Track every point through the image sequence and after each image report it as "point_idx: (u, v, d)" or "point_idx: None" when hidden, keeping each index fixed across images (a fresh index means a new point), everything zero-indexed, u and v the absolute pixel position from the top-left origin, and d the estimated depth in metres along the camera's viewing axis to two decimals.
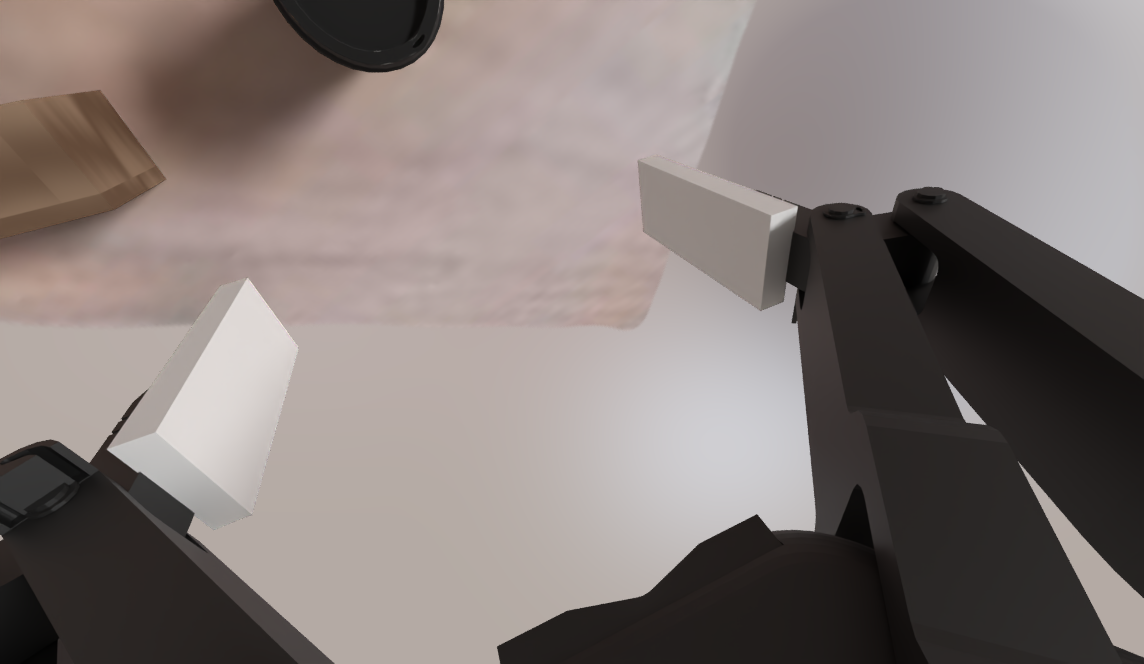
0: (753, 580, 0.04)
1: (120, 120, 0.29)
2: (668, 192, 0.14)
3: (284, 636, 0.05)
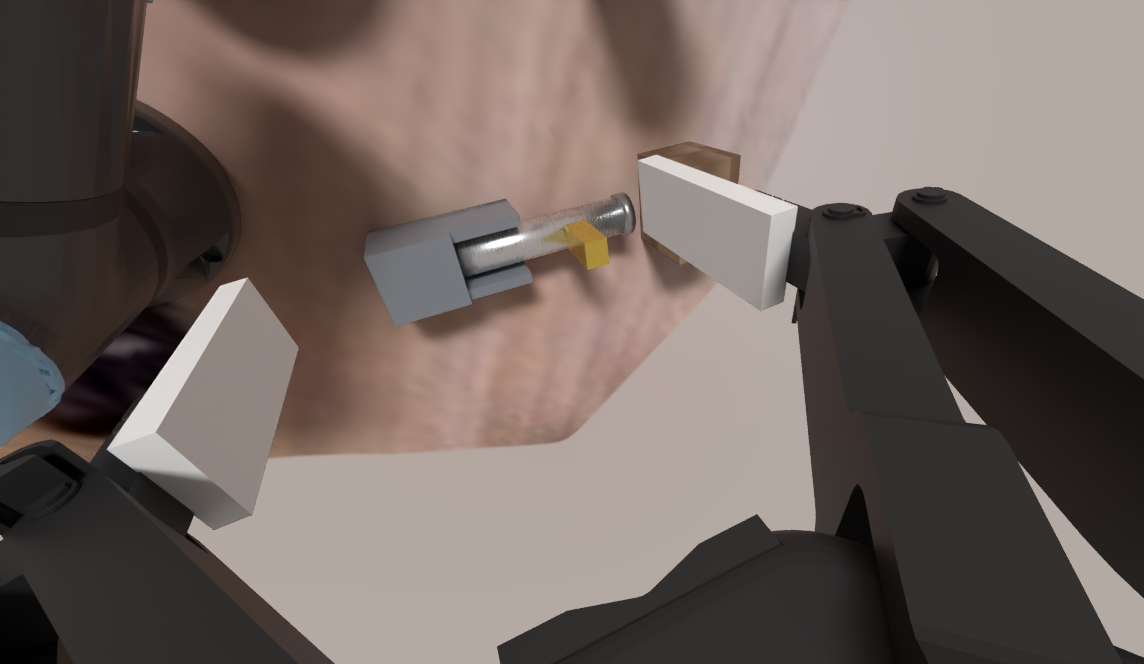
0: (753, 580, 0.04)
1: (655, 150, 0.43)
2: (668, 192, 0.14)
3: (284, 636, 0.05)
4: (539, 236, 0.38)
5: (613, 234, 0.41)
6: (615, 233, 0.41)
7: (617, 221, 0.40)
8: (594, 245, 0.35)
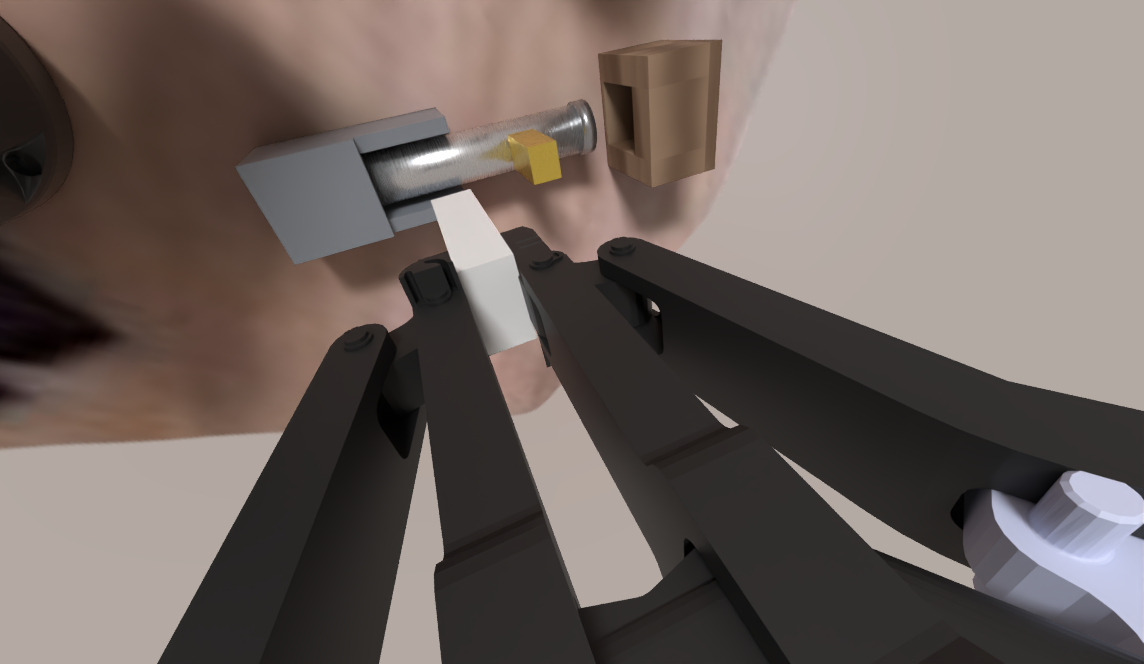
0: None
1: (619, 49, 0.35)
2: None
3: (529, 470, 0.07)
4: (476, 149, 0.31)
5: (570, 151, 0.34)
6: (573, 150, 0.34)
7: (574, 133, 0.33)
8: (540, 150, 0.28)
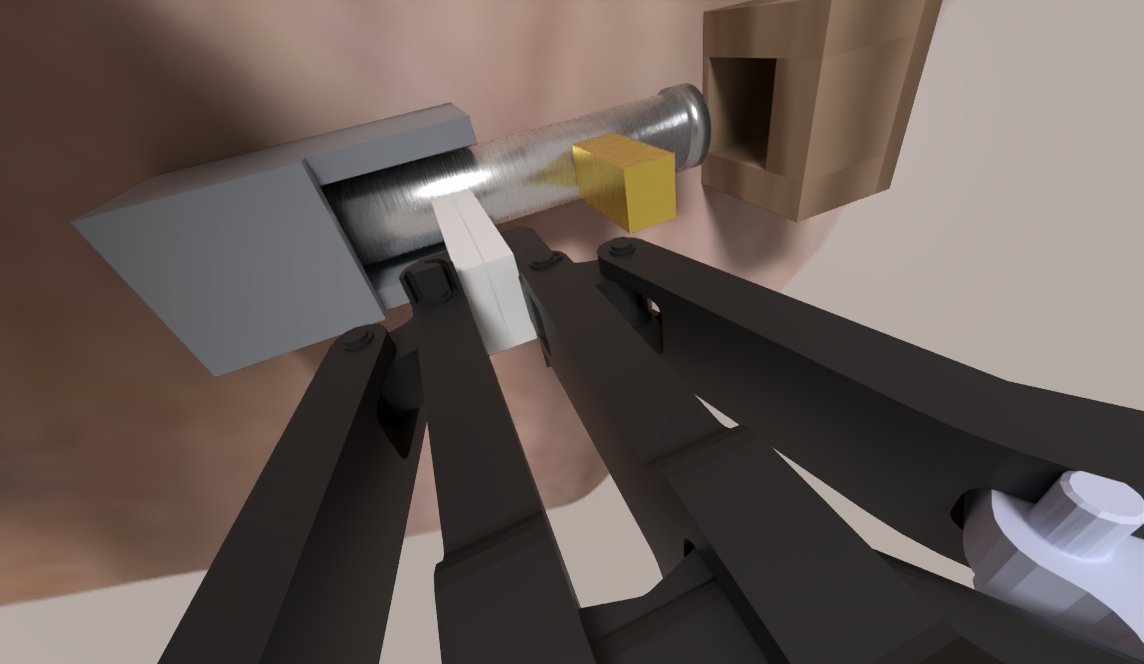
0: None
1: (736, 4, 0.22)
2: None
3: (529, 470, 0.07)
4: (520, 170, 0.18)
5: None
6: None
7: (676, 138, 0.20)
8: (646, 172, 0.15)
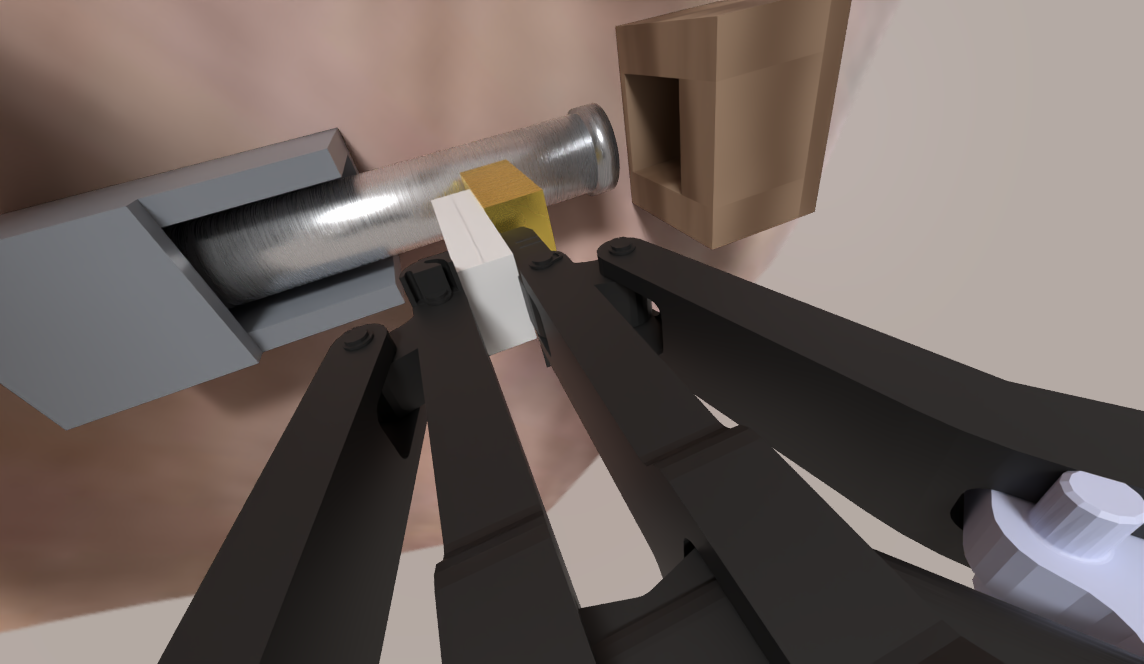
0: None
1: (651, 18, 0.21)
2: None
3: (529, 470, 0.07)
4: (404, 201, 0.17)
5: (575, 192, 0.20)
6: (579, 190, 0.20)
7: (580, 162, 0.19)
8: (513, 211, 0.14)
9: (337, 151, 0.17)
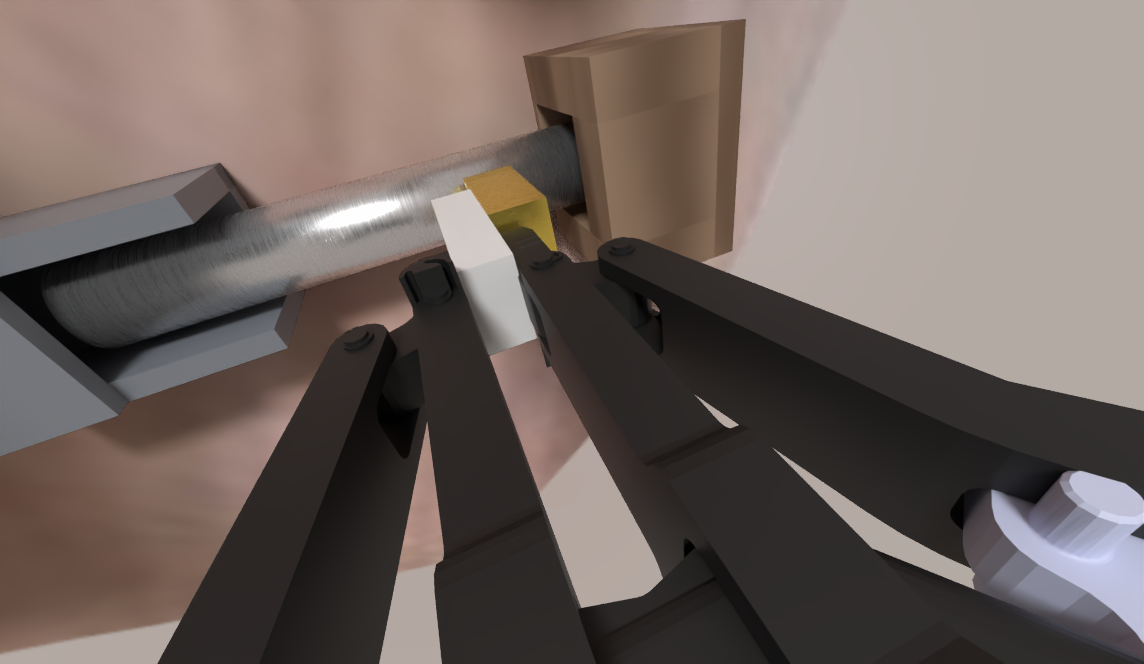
0: None
1: (561, 47, 0.20)
2: None
3: (529, 470, 0.07)
4: (407, 207, 0.17)
5: (578, 198, 0.20)
6: (582, 196, 0.20)
7: None
8: (515, 218, 0.14)
9: (201, 193, 0.16)
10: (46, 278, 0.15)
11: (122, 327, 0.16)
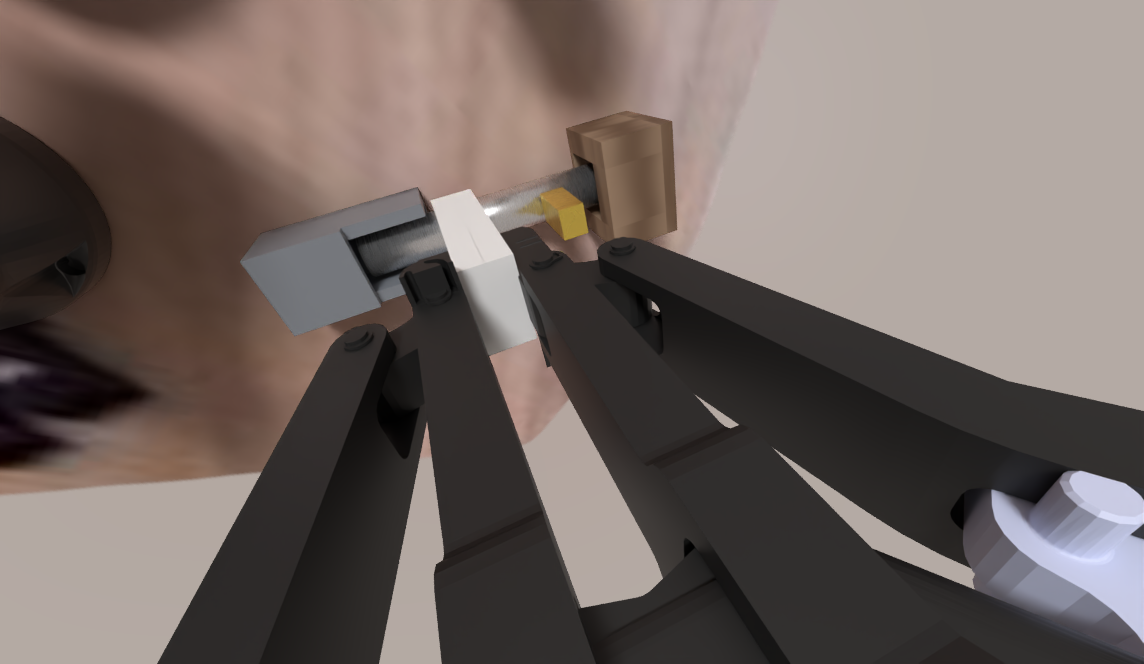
0: None
1: (585, 123, 0.38)
2: None
3: (529, 470, 0.07)
4: (512, 208, 0.35)
5: (595, 202, 0.38)
6: (597, 201, 0.38)
7: None
8: (569, 212, 0.32)
9: (421, 202, 0.34)
10: (358, 241, 0.33)
11: (385, 264, 0.34)
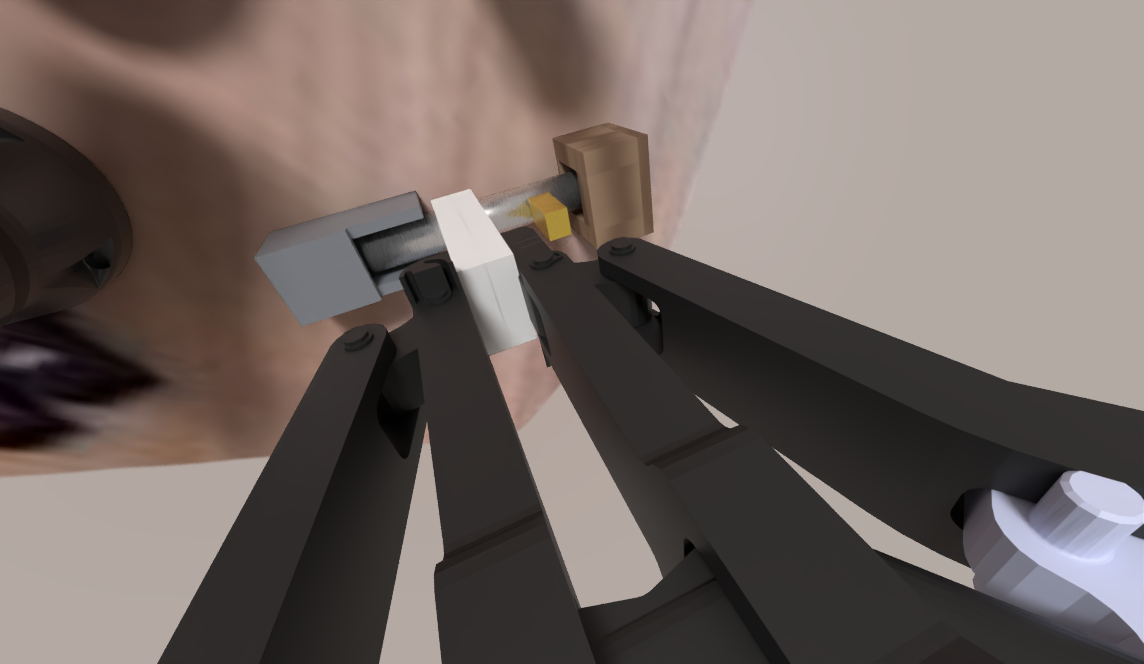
0: None
1: (570, 133, 0.41)
2: None
3: (529, 470, 0.07)
4: (503, 210, 0.39)
5: (579, 206, 0.41)
6: (581, 205, 0.41)
7: None
8: (554, 215, 0.35)
9: (419, 205, 0.37)
10: (360, 240, 0.36)
11: (385, 261, 0.37)
